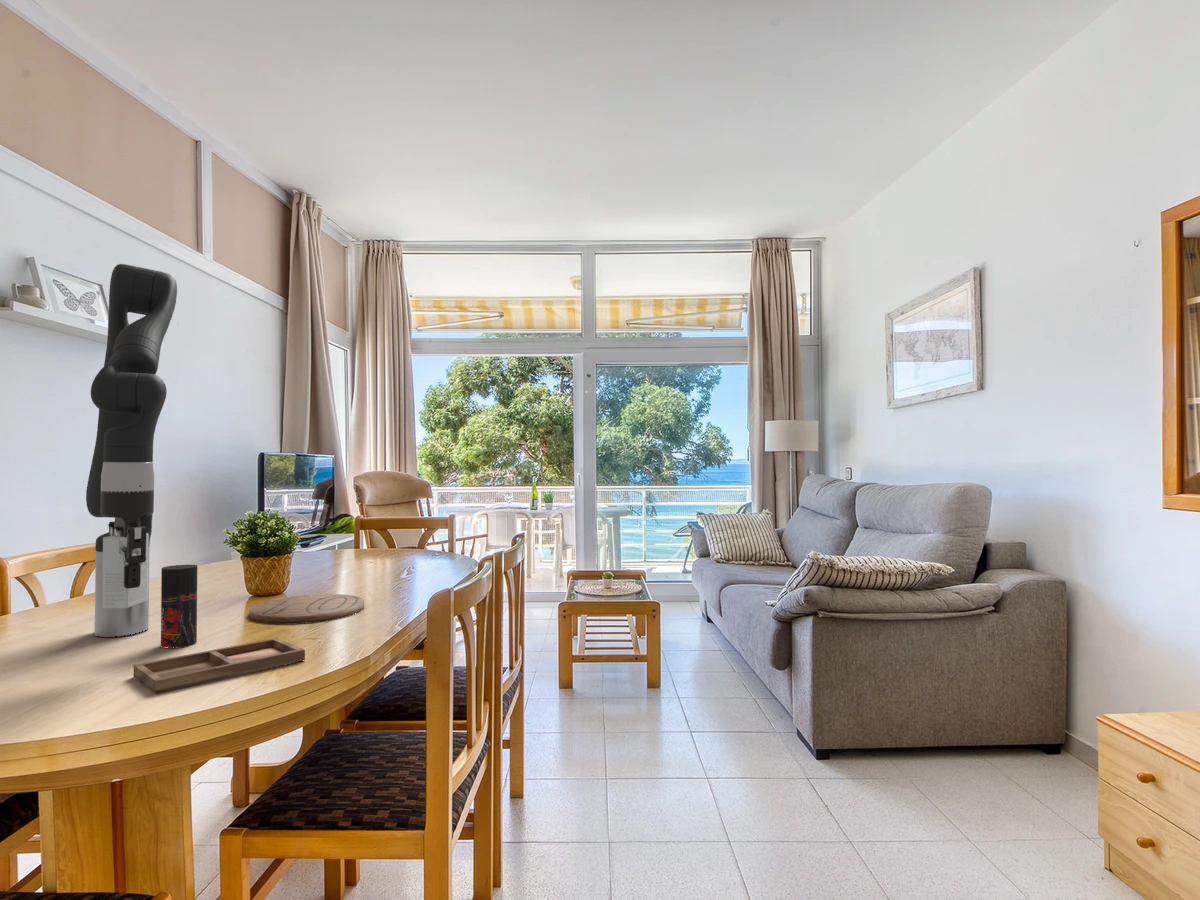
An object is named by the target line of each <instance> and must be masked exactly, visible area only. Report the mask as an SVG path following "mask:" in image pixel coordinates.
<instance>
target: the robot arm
mask: <svg viewBox="0 0 1200 900" xmlns="http://www.w3.org/2000/svg"><path fill="white" fill-rule="evenodd" d="M108 293H109V297H108V318H107V319H108V321H107V339H106V350H105V357H104V363H103V367H102V368H101V369H100V370H99V371H98V373H97V374H96V375H95V376H94V378H93V380H92V384H91V386H90V399H91V401H92V404H94V405H95V407H96V408H97V409H98V419H97V428H96V429H97V431H96V436H95V437H96V438H95V445H94V451H93V455H92V461H91V464H90V468H89V469H90V470H89V475H88V478H87V479H88V480H87V484H86V490H85V491H86V492H85V493H86V494H85V501H86V502H85V503H86V508H87V511H88V513H89V514H90V515H91V516H92V517H94V518H109V519H110V518H112V519H113V518H114V521H109V522H108V532H106V533H104V534H103V533H102V534H101V535H99V536H97V538H96V539H95V545H94V546H95V549H94V550H95V551H94V553H95V555H94V556H95V558H94V560H95V561H94V563H95V564H94V566H95V567H94V568H95V569H94V573H95V575H94V576H95V577H94V633H93V634H94V636H95V637H98V636H99V637H98V638H115V636H117V637H124V635H125V636H130V634H131V635H136V634H139V632H140V633H142V631H143V632H146V631H148V630H149V629H148V628H149V625H150V624H149V622H150V620H149V619H150V618H149V617H150V614H149V613H150V611H149V610H150V552H151V551H150V549H151V547H150V541H151V536H152V530H153V515H154V512H155V511H154V510H155V509H154V507H155V502H154V501H155V471H154V463H153V462H154V437H155V433H156V428H157V424H158V421H159V418H160V414H161V412H162V410H163V406H164V404H165V402H166V398H167V387H166V386H167V385H166V383H165V381H164V380H163V379H162V378H161V377H160V375H157V372H158V368H159V364H160V363H159V361H160V357H161V356H160V355H161V349H162V344H163V341H164V338H165V335H166V333H167V331H168V329H169V326H170V323H171V320H172V318H173V314H174V312H175V308H176V304H177V296H178V285H177V281H176V278H175V277H174V276H173V275H172V274H170V273H167V272H164V271H160V270H155V269H151V268H145V267H141V266H136V265H132V264H131V265H130V264H126V263H125V264H124V263H118V264H116V265H115V267H113V270H112V272H111V275H110V282H109V292H108ZM128 313H133V314H135V315H136V314H137V315H143V316H142V317H141V318H138V319H136V320H135V321H133V322H131V323H130V324H129V319H128ZM146 533H148V534H149V546H148V600H147V601H144V602H142V603H139V604H136V605H134V606H131V607H129V608H103V607H102V598H103V597H102V593H103V537H108V536H113V535H115V537H127V547H125V546H124V545H123V543H122V542H121V541H120V540H119V554H122V555H123V564H124V587H125V588H127V589H129V588H137V587H139V586H140V575H141V565H142V563H143V562H145V561H146ZM132 553H135V554H136V555H137V556H132ZM147 629H148V630H147ZM145 630H146V631H145ZM135 633H136V634H135Z"/></svg>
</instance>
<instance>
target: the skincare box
mask: <svg viewBox="0 0 1200 900" xmlns="http://www.w3.org/2000/svg"><path fill="white" fill-rule="evenodd" d="M119 540H120V541H121V542H122V543H123V545H124V546H125V547H127V537H115V535H113V536H108V537H103V593H102V597H103V598H102V607H103V608H129V607H131V606H134V605H136V604H139V603H142V602H144V601H147V600H148V546H149V534H148V533H146V561H145V562H143V563H142V565H141V575H140V586H139V587H137V588H129V589H127V588H125V587H124V564H123V555H122V554H119ZM132 556H137V555H136V554H135V553H132Z"/></svg>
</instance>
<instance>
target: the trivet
mask: <svg viewBox="0 0 1200 900" xmlns="http://www.w3.org/2000/svg"><path fill="white" fill-rule="evenodd" d="M361 610H362V611H363V610H365V599H364V598H362V597H361V596H356V595H351V594H350V595H349V594H343V593H342V594H338V593H337V594H336V593H323V594H322V593H320V594H319V593H318V594H303V595H297V596H296V595H294V596H288V597H287V596H286V597H281V598H274V599H270V600H266V601H262V602H260V603H258V604H255V605H253V606H251V607H250V608H249V614H248V615H249V618H250V619H251V620H253V621H255V622H257V621H259V623H263V622H267V623H266V624H274V623H298V624H306V623H305V622H312V623H317V622H318V621H320V622H326V621H327V620H328V621H331V620H332V619H333V620H338V619H337V618H339V619H343V618H346V616H347V617H350V616H349V615H351V616H354V615H356V614H359V613H360V611H361ZM362 611H361V612H362ZM358 612H359V613H358ZM355 613H356V614H355ZM353 614H354V615H353ZM342 617H343V618H342ZM303 622H304V623H303ZM318 623H319V622H318Z"/></svg>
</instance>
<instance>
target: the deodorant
mask: <svg viewBox="0 0 1200 900" xmlns="http://www.w3.org/2000/svg"><path fill="white" fill-rule="evenodd" d="M160 578H161V581H160V582H161V583H160V584H161V587H160V588H161V589H160V590H161V591H160V593H161V594H160V596H161V597H160V598H161V599H160V602H161V603H160V647H161V646H162V647H168V648H167V649H177V648H176V647H181V648H185V647H184V646H187V647H190V646H189V645H191V646H193V645H195V644H197V643H196V642H198V638H197V636H198V633H197V632H198V628H197V627H198V565H197V564H176V565H167V566H164V567H161V577H160ZM162 647H161V648H162ZM173 647H174V648H173Z"/></svg>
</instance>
